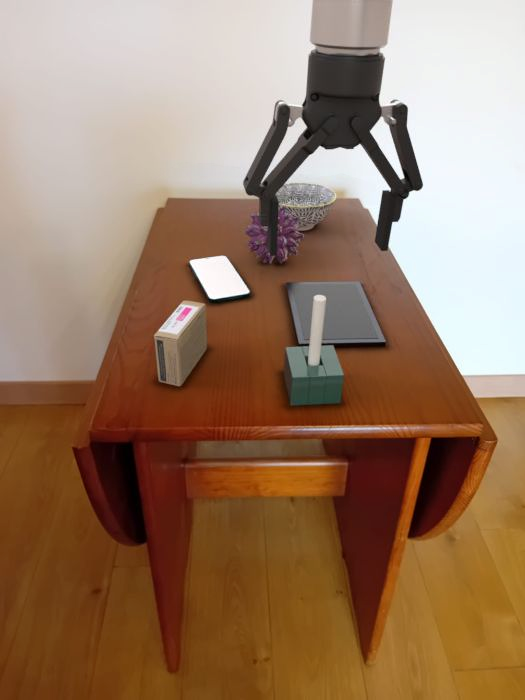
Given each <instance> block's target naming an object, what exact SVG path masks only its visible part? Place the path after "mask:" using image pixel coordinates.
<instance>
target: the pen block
mask: <svg viewBox="0 0 525 700" xmlns="http://www.w3.org/2000/svg"><path fill="white" fill-rule="evenodd" d="M308 355H309V346H302V347H298V346H285V348H284V363H283V364H284V365H283V377H284V378H283V379H284V382H285V386H286V390H287V396H288V401H289V405H290V406H291V407H292V406H293V407H294V406H307V405H308V406H309V405H312V406H313V405H328V404H331V405H332V404H341V400H342V392H343V385H344V377H345V374H344V371H343V368H342V366H341V362H340V360H339V357H338V355H337V352H336V348H334V346H333V345H327V346H321V353H320V362H319V365H318V366H308Z"/></svg>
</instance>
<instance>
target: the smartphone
mask: <svg viewBox="0 0 525 700" xmlns="http://www.w3.org/2000/svg"><path fill="white" fill-rule="evenodd" d="M188 265H189V268H190V270H191V271H192V273H193V275H194V277H195V279H196V281H197V282H198V284H199V286H200V288H201V290H202V291H203V293H204V295H205V297H206V299H207V301H208V302H209V303H212V304H216V303H217V304H218V303H223V302H229V301H234V300H239V299H245V298H249V297H250V296H251V290H250V288H249V287H248V285H247V284H246V283H245V281H244V280H243V278H242V277H241V276H240V274H239V272H238V271H237V269H236V268H235V267H234V265H233V264H232V262H231V261H230V259H229V258H228V257H227V255H215V256H209V257H202V258H201V257H199V258H194V259H190V260H189V261H188Z"/></svg>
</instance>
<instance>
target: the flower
mask: <svg viewBox="0 0 525 700" xmlns="http://www.w3.org/2000/svg"><path fill="white" fill-rule="evenodd" d="M292 214H293V212H292V211H291V212H290V213H288V214H287V213H286V206H283V207H282V209H280V210H278V233H277V256H270V254H269V251H268V248H267V227H262V225H261V223H260V220H259V212H256V213H255V214H254V213H251V214H250V218H251V219H252V221H251V224H252V225H247V226H246V229H247V230H244V235H245V236H249V237H250V240H248V242H246V243H245V244H246V247H250V246H251V247H250V248H249V252H250V253H252V252H256V255H255V257H256V259H259V257H261V256H262V262H263V263H265V264H266V263H268V264H272V262H273V260H274V259H277V261H278V263H279V264H283V262H285V261H288V256H289V257H290V256H291V254H293V255H294V256H298V253H299V251H298V250H297V248H298V247H299V244H300V242H301V239H304V238H305V234H304V233H300V232H299V231H298V228H300V227H302V225H301V224H296V223H297V221H299V219H300V218H299V217H296V218H293V219H291V217H292Z"/></svg>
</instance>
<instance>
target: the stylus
mask: <svg viewBox="0 0 525 700" xmlns="http://www.w3.org/2000/svg"><path fill="white" fill-rule="evenodd" d="M325 306H326V297H325V296H323V295H316V296H314V299H313V311H312V322H311V333H310V344H309V355H308V366H318V365H319V362H320V353H321V343H322V334H323V324H324V315H325Z"/></svg>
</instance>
